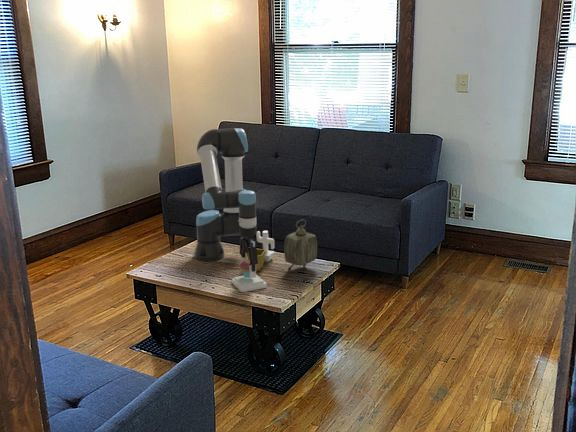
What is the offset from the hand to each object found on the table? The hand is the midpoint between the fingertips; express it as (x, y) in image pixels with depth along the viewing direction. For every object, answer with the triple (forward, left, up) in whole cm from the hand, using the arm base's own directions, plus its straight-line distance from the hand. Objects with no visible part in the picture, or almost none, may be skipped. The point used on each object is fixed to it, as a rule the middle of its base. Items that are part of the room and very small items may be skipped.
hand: (248, 274), depth 271 cm
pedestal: (0, 0, -5) cm, 5 cm away
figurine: (-27, +20, -5) cm, 34 cm away
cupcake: (0, 0, -1) cm, 1 cm away
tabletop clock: (-7, +30, -6) cm, 31 cm away
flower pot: (-17, +10, -6) cm, 20 cm away
